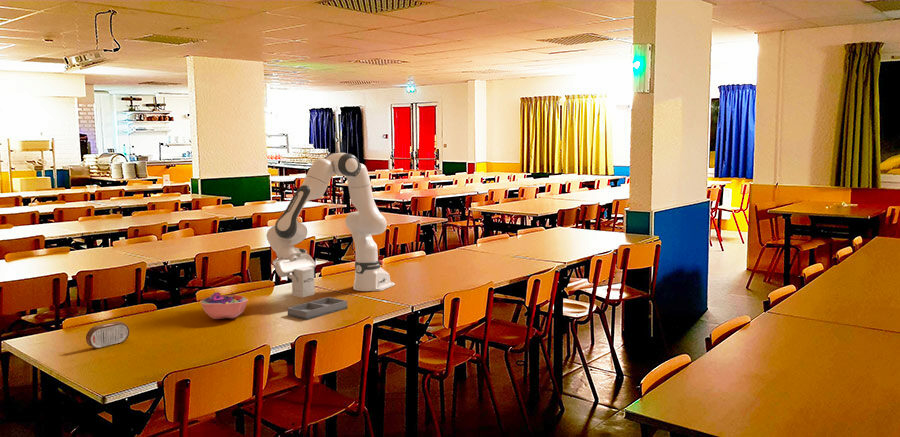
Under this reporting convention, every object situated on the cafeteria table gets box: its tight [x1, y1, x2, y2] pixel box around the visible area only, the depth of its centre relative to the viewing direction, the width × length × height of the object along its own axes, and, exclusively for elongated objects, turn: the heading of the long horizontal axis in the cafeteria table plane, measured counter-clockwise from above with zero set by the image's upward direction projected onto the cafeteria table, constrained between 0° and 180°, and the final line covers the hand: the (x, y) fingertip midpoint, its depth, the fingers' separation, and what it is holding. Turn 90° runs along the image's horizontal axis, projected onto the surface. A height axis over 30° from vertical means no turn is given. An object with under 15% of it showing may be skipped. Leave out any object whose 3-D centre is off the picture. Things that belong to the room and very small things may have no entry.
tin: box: [85, 321, 130, 349], centre depth 251 cm, size 15×3×8 cm, turn 141°
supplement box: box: [291, 267, 316, 299], centre depth 307 cm, size 7×7×13 cm
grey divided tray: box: [287, 296, 348, 321], centre depth 297 cm, size 24×12×4 cm, turn 143°
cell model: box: [199, 291, 249, 320], centre depth 287 cm, size 17×20×11 cm
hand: (304, 279), depth 307 cm, fingers closed on supplement box, 7 cm apart
